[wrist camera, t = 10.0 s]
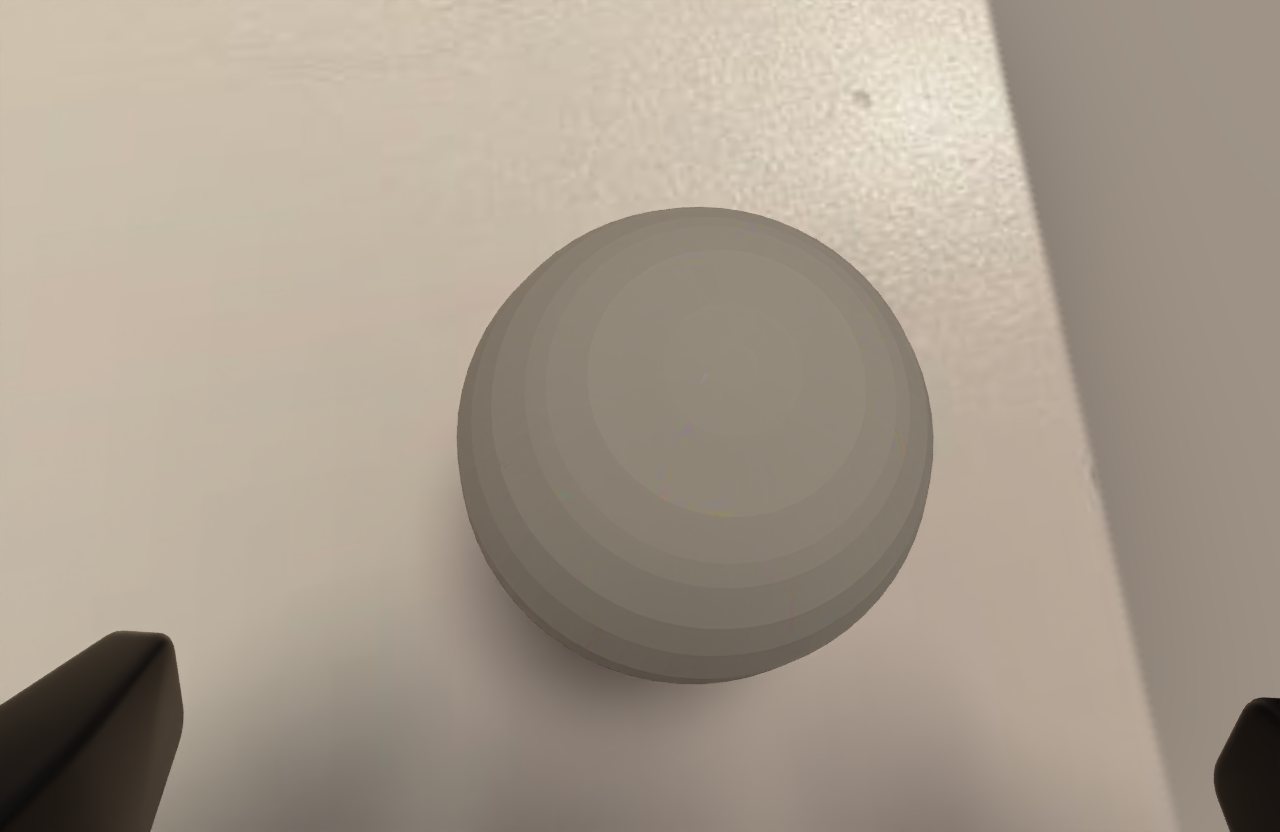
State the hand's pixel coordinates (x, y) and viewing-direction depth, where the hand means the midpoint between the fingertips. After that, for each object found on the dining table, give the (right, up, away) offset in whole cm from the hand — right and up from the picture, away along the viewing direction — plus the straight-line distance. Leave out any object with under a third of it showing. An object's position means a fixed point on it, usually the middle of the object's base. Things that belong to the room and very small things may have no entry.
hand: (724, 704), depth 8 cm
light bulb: (-1, 0, +11) cm, 11 cm away
